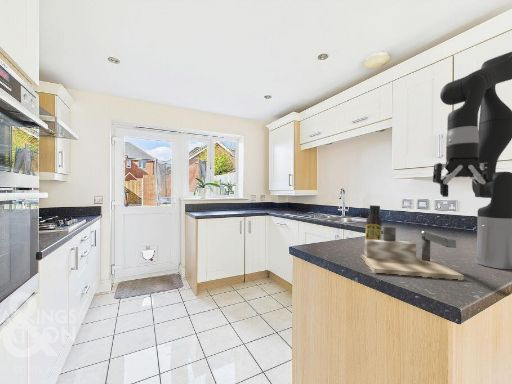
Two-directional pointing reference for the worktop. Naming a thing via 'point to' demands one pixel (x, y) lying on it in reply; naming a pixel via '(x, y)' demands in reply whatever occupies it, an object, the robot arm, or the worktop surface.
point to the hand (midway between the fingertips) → (461, 196)
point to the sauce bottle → (373, 224)
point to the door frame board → (412, 268)
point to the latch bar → (439, 239)
